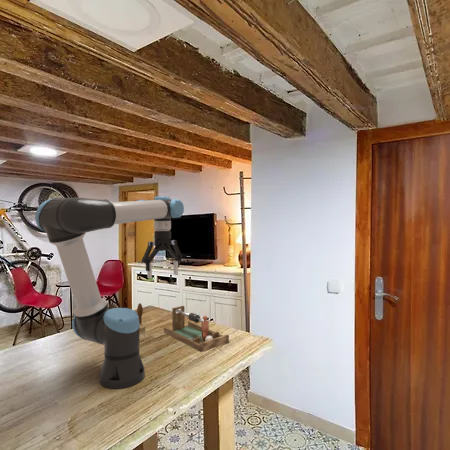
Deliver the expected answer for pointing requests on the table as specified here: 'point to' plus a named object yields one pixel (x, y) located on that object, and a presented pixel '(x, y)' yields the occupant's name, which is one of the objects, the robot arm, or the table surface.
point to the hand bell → (141, 328)
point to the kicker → (196, 319)
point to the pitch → (193, 333)
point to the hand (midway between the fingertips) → (163, 276)
